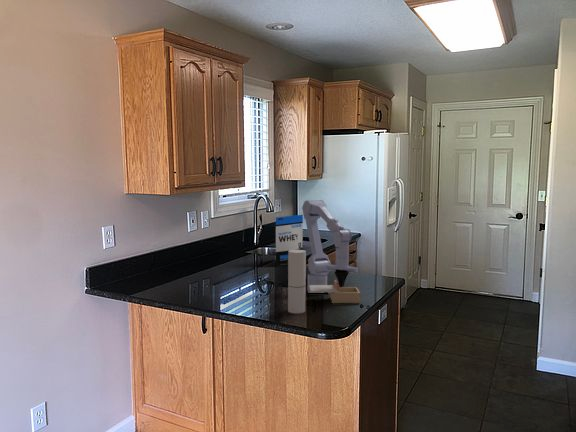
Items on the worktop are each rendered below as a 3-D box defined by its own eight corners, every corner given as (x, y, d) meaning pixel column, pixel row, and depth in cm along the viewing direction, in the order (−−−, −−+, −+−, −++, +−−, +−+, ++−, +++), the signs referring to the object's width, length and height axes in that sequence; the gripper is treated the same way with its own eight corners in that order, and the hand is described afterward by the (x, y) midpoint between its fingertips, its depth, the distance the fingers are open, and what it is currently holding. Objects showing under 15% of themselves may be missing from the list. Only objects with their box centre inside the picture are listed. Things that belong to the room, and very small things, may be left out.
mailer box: (332, 304, 208) (332, 292, 208) (330, 297, 218) (330, 287, 218) (360, 304, 209) (360, 292, 208) (356, 297, 219) (356, 287, 218)
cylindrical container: (304, 308, 202) (305, 249, 199) (305, 313, 195) (306, 252, 192) (287, 308, 202) (288, 249, 199) (288, 313, 195) (288, 252, 192)
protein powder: (270, 266, 290) (270, 216, 287) (296, 260, 307) (297, 214, 304) (281, 268, 283) (281, 218, 280) (308, 262, 301) (308, 215, 298)
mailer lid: (310, 292, 208) (310, 285, 207) (309, 286, 218) (309, 279, 218) (339, 292, 208) (339, 285, 207) (336, 286, 218) (336, 279, 218)
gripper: (360, 256, 212) (360, 286, 213) (330, 253, 219) (330, 282, 220) (354, 259, 205) (354, 290, 207) (324, 256, 212) (323, 286, 214)
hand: (341, 286), depth 213 cm, fingers closed
